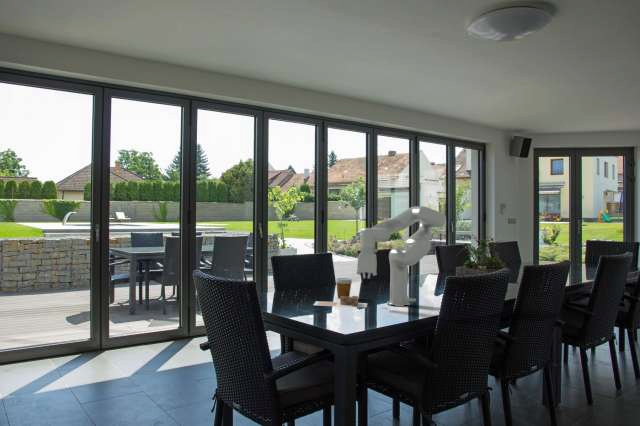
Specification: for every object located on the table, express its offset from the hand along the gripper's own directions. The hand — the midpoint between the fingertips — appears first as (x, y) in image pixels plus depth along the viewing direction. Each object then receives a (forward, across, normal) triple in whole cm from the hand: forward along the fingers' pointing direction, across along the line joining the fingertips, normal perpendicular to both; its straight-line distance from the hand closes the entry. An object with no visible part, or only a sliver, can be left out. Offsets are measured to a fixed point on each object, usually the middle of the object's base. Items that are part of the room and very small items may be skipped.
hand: (366, 285), depth 258 cm
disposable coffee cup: (+12, +13, -21) cm, 27 cm away
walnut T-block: (+11, +8, -1) cm, 13 cm away
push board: (+12, +13, -1) cm, 18 cm away
